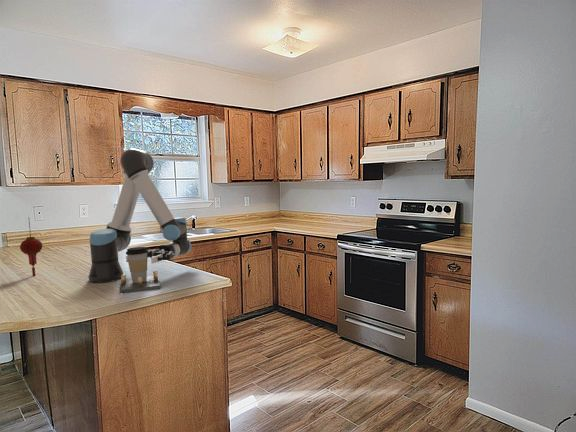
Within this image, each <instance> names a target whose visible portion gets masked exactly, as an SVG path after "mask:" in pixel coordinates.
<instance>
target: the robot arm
mask: <svg viewBox="0 0 576 432" xmlns="http://www.w3.org/2000/svg"><path fill="white" fill-rule="evenodd" d="M119 160H120V162H119V163H120V165H121V168H122V170H123V171H122V173H123V175H124V181H123V183H122V186H121V190H120V193H119V197H118V200H117V204H116V206H115V210H114V213H113V216H112V221H110V222H108V223H107V225H106V228H104V229H103V228H101V229H99V230H95V231H92V232H91V233H90V235H89V246H90V257H91V258H90V259H91V267H90V270H89V273H88V281H89V282H90V283H95V284H96V283H97V284H99V283H107V282H108V283H109V282H114V281H118V280H121V275H124V271H123V269H122V266H121V264H120V262H119V252H122V251H124V250H126V249H128V247H129V246H130V244H131V240H132V236H131V233H132V228H131V226H130V224H131V221H132V218H133V215H134V212H135V209H136V205H137V202H138V198H139V195H141V196H142V198H143V200H144V202H145V203H146V205H147V206H148V209H149V210H150V211H151V213H152V215H153V216H154V219H155V220H156V222H157V223H158V225H159V227H160V228H161V229H162V236H163V238H164V239H166V240H167V241H171V242H168V243H165V244H161V245H160V246H159V247H158V248H157V249H149V250H148V252H147V258H150V259H151V260H150V261H151V265H152V264H156V263H159V262H162V261H170V260H171V259H174V258H176V257H178V256H182V255H187V254H188V253H189V252H190V251H191V250H192V243H191V241H190V240H189V239H188V232H187V231H188V230H187V228H188V227H187V226H188V224H187V219H186V217H183V216H181V217H174V215H173V214H172V212H171V210H170V208H169V207H168V205H167V204H166V201H165V200H164V199H163V197H162V195H161V194H160V192H159V190H158V189H157V187H156V185H155V183H154V182H153V180H152V178H151V176H150V175H149V173H150V172H152V170H153V168H154V166H155V165H154V164H155V162H154V157H153V156H152V155H151V154H150V153H148V152H147V151H145V150H141V149H137V148H128V149H127V150H125V151H124V152H123V153H121V155H120V159H119ZM125 262H126V263H128V256H127V255H126V256H125Z"/></svg>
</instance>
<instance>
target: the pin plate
mask: <svg viewBox="0 0 576 432" xmlns="http://www.w3.org/2000/svg"><path fill="white" fill-rule="evenodd" d="M152 273H153V275H147V280H146V281H145V282H142V276H138V283H133V282H132V277H129V278H127V276H126V274H123V275H121V279H120V284H119V285H120V286H119V294H120V295H122V294H127V293H128V294H130V293H137V292H144V291H152V290H160V289H161V282H160V279H159V275H158V271H157V270H155V271H154V270H153V271H152ZM121 293H122V294H121Z"/></svg>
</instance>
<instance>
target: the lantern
mask: <svg viewBox="0 0 576 432" xmlns="http://www.w3.org/2000/svg"><path fill="white" fill-rule="evenodd" d="M28 219H30V217H29V216H28ZM30 223H31V222H30V221H28V227H29V230H31V226H30V225H31V224H30ZM19 248H20V249H19V250H20V251H21V252H22V253H23V254H25V255H27V257H28V263H29V264H28V265H31V271H32V272H31V273H32V277H35V276H36V268H35V265H37V254H38V253H39V252H41V250H42V249H43V243H42V241H41V240H40V239H37V238H35V236H32V233H31V232H29V236H27V237H26V239H24V240H23V241H21V243H20V247H19Z"/></svg>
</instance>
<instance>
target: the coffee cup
mask: <svg viewBox="0 0 576 432" xmlns="http://www.w3.org/2000/svg"><path fill="white" fill-rule="evenodd" d="M148 251H149V250H148V249H147V247H146V246H137V247H130V248H126V252H125V255H126V256H128V262H127V264H128V268H129V272H130V276H131V277H130V278H132V282H133V283H138V276H142V282H145V281H146V280H147V276H148V274H147V273H148V260H149V259H148V258H149V257H147V252H148Z"/></svg>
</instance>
